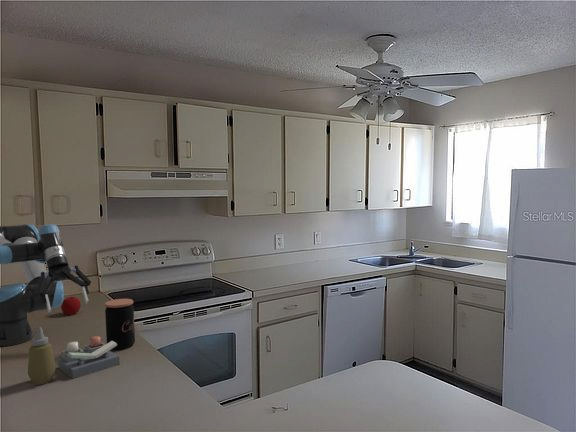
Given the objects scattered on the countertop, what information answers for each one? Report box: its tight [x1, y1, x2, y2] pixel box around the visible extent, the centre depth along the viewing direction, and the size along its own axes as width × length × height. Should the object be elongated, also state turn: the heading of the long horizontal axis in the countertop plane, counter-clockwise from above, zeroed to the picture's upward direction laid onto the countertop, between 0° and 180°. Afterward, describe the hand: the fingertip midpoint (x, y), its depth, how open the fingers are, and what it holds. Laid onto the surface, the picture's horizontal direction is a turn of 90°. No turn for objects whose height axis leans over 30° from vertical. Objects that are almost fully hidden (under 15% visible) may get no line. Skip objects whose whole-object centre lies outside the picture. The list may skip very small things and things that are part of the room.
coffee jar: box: [104, 298, 136, 351], centre depth 176 cm, size 11×11×18 cm
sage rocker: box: [67, 352, 95, 361], centre depth 152 cm, size 4×8×2 cm, turn 136°
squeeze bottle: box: [27, 326, 56, 385], centre depth 144 cm, size 8×8×18 cm
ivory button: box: [66, 341, 80, 354], centre depth 156 cm, size 4×4×3 cm
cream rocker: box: [91, 341, 117, 358], centre depth 158 cm, size 4×8×2 cm, turn 136°
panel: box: [57, 341, 121, 379], centre depth 157 cm, size 14×16×6 cm
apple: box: [60, 296, 82, 316], centre depth 225 cm, size 9×9×10 cm
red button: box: [89, 335, 102, 348], centre depth 162 cm, size 4×4×3 cm
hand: (68, 306), depth 174 cm, fingers open, 13 cm apart
